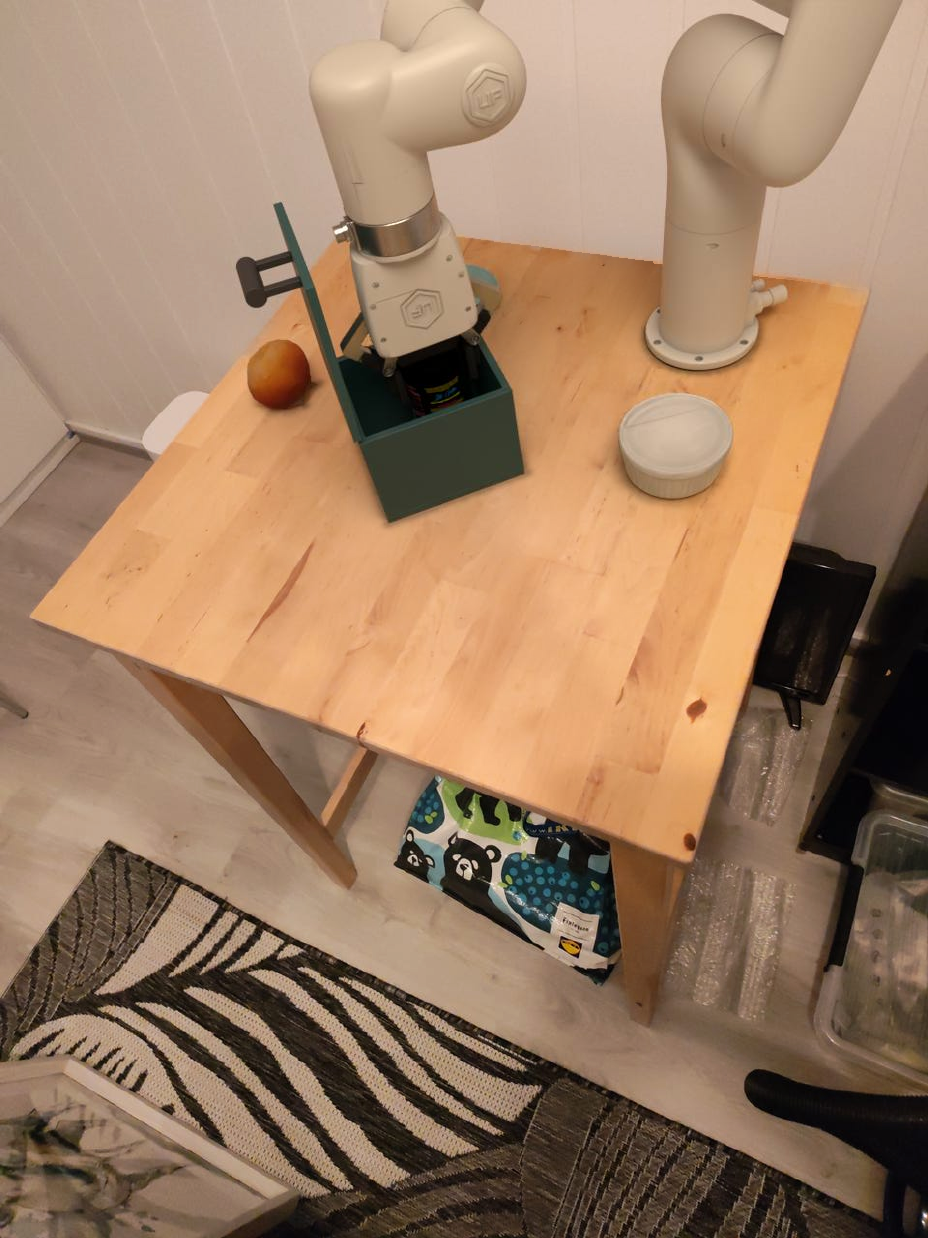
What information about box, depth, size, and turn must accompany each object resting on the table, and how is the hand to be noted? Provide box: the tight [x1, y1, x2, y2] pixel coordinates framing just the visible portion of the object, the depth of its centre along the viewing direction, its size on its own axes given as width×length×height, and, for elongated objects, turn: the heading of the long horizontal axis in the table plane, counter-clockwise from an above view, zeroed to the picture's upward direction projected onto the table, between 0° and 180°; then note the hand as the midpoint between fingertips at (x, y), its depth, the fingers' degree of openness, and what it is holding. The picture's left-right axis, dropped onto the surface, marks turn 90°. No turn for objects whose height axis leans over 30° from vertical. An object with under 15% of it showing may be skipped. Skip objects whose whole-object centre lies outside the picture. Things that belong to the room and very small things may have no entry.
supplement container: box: [397, 335, 473, 420], centre depth 82 cm, size 7×7×10 cm
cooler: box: [336, 333, 525, 524], centre depth 85 cm, size 16×14×12 cm
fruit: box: [246, 339, 317, 410], centre depth 97 cm, size 8×8×8 cm
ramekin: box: [617, 392, 734, 500], centre depth 81 cm, size 11×11×5 cm
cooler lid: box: [235, 201, 362, 444], centre depth 72 cm, size 16×14×6 cm
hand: (436, 382), depth 82 cm, fingers closed on supplement container, 6 cm apart
